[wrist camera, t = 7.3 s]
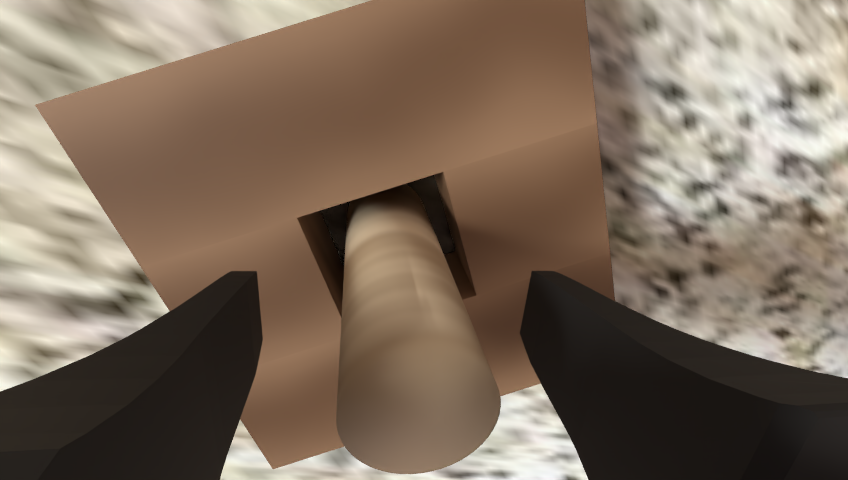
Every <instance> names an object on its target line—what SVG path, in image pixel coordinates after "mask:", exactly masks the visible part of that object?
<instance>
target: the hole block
mask: <svg viewBox="0 0 848 480" xmlns="http://www.w3.org/2000/svg"><path fill="white" fill-rule="evenodd" d="M35 106H36V107H37V109H38V110H39V112H40V113H41V115H42V116H43V118H44V119H45V121H46V122H47V124H48V125H49V127H50V129H51V130H52V132H53V133H54V135H55V136H56V138H57V139H58V141H59V142H60V144H61V145H62V147H63V148H64V150H65V151H66V153H67V155H68V156H69V158H70V159H71V161H72V162H73V164H74V165H75V167H76V168H77V170H78V171H79V173H80V174H81V176H82V178H83V179H84V181H85V182H86V184H87V185H88V187H89V188H90V190H91V191H92V193H93V194H94V196H95V197H96V199H97V200H98V202H99V204H100V205H101V207H102V208H103V210H104V211H105V213H106V214H107V216H108V217H109V219H110V220H111V222H112V223H113V225H114V227H115V228H116V230H117V231H118V233H119V234H120V236H121V237H122V239H123V240H124V242H125V243H126V245H127V246H128V248H129V249H130V251H131V253H132V254H133V256H134V257H135V259H136V260H137V262H138V263H139V265H140V266H141V268H142V269H143V271H144V272H145V274H146V276H147V277H148V279H149V280H150V282H151V283H152V285H153V286H154V288H155V289H156V291H157V292H158V294H159V295H160V297H161V298H162V300H163V302H164V303H165V305H166V306H167V308H168V309H169V311H171V310H173V309H175V308H176V307H178V306H179V305H181V304H182V303H184V302H185V301H187V300H188V299H190V298H191V297H193V296H194V295H196V294H197V293H199V292H200V291H202V290H203V289H204V288H206V287H207V286H209V285H210V284H212V283H213V282H215V281H216V280H217V279H219V278H220V277H222V276H224V275H225V274H227V273H229V272H230V271H257V278H258V289H259V301H260V312H261V323H262V335H263V341H262V346H261V352H260V357H259V361H258V366H257V371H256V375H255V378H254V381H253V384H252V386H251V389H250V392H249V395H248V398H247V401H246V403H245V406H244V409H243V412H242V415H241V417H240V419H241V421H242V422H243V424H244V426H245V427H246V429H247V430H248V432H249V433H250V435H251V436H252V438H253V439H254V441H255V442H256V444H257V445H258V447H259V449H260V450H261V452H262V453H263V455H264V456H265V458H266V459H267V461H268V462H269V464H270V465H271V467H272V468H273V469H275V468H278V467H281V466H285V465H288V464H291V463H294V462H297V461H300V460H303V459H306V458H310V457H313V456H316V455H319V454H322V453H325V452H328V451H331V450H334V449H338V448H341V447H344V445H343V443H342V441H341V439H340V437H339V434H338V430H337V426H336V411H337V393H338V374H339V356H340V337H341V319H342V300H343V282H344V267H343V265H342V262H341V260H340V258H339V255H338V253H337V250H336V248H335V245H334V243H333V241H332V238H331V236H330V233H329V231H328V229H327V226H326V224H325V221H324V219H323V217H322V214H321V212H320V210H323V209H326V208H330V207H333V206H336V205H339V204H342V203H346V202H349V201H352V200H355V199H358V198H361V197H365V196H368V195H371V194H374V193H377V192H380V191H384V190H387V189H390V188H393V187H396V186H399V185H403V184H406V183H409V182H412V181H415V180H418V179H422V178H425V177H428V176H431V175H434V176H435V179H436V183H437V186H438V190H439V194H440V197H441V201H442V204H443V208H444V211H445V215H446V219H447V222H448V226H449V229H450V233H451V237H452V240H453V244H454V247H455V251H453V252H450V253H447V254H444V256H445V259H446V261H447V264H448V266H449V269H450V271H451V274H452V276H453V278H454V281H455V283H456V286H457V288H458V291H459V293H460V295H461V298H462V300H463V303H464V305H465V308H466V310H467V313H468V315H469V317H470V320H471V322H472V325H473V327H474V330H475V332H476V335H477V337H478V339H479V342H480V344H481V347H482V349H483V352H484V354H485V357H486V359H487V361H488V364H489V366H490V369H491V371H492V374H493V376H494V378H495V381H496V383H497V386H498V389H499V392H500V396H503V395H506V394H509V393H512V392H515V391H518V390H521V389H524V388H528V387H531V386H534V385H537V384H540V383H541V382H540V381H539V379H538V377H537V375H536V373H535V371H534V369H533V367H532V365H531V363H530V360H529V358H528V355H527V353H526V350H525V347H524V344H523V341H522V338H521V335H520V329H521V324H522V318H523V313H524V308H525V303H526V298H527V293H528V287H529V282H530V277H531V272H532V271H555V272H558V273H560V274H563V275H565V276H567V277H569V278H571V279H573V280H575V281H577V282H579V283H581V284H583V285H585V286H587V287H589V288H591V289H593V290H594V291H596V292H598V293H600V294H602V295H604V296H606V297H608V298H610V299H612V300H614V301H615V297H614V287H613V277H612V267H611V257H610V247H609V237H608V227H607V218H606V208H605V198H604V188H603V178H602V168H601V158H600V148H599V138H598V129H597V119H596V109H595V99H594V89H593V79H592V69H591V59H590V49H589V40H588V30H587V20H586V10H585V0H372V1H368V2H365V3H362V4H359V5H355V6H352V7H349V8H346V9H343V10H339V11H336V12H333V13H330V14H326V15H323V16H320V17H317V18H314V19H310V20H307V21H304V22H301V23H297V24H294V25H291V26H288V27H285V28H281V29H278V30H275V31H272V32H268V33H265V34H262V35H259V36H256V37H252V38H249V39H246V40H243V41H239V42H236V43H233V44H230V45H227V46H223V47H220V48H217V49H214V50H210V51H207V52H204V53H201V54H198V55H194V56H191V57H188V58H185V59H181V60H178V61H175V62H172V63H169V64H165V65H162V66H159V67H156V68H152V69H149V70H146V71H143V72H140V73H136V74H133V75H130V76H127V77H123V78H120V79H117V80H114V81H111V82H107V83H104V84H101V85H98V86H94V87H91V88H88V89H85V90H82V91H78V92H75V93H72V94H69V95H65V96H62V97H59V98H56V99H53V100H49V101H46V102H43V103H40V104H36V105H35Z"/></svg>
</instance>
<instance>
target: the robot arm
mask: <svg viewBox="0 0 848 480" xmlns="http://www.w3.org/2000/svg"><path fill="white" fill-rule="evenodd" d="M520 335H521V338H522V341H523V344H524V347H525V350H526V353H527V355H528V358H529V360H530V363H531V365H532V367H533V369H534V371H535V373H536V375H537V377H538V379H539V381H540V382H541V384H542V386H543V388H544V390H545V392H546V394H547V395H548V397H549V399H550V401H551V403H552V405H553V406H554V408H555V410H556V412H557V414H558V416H559V417H560V419H561V421H562V423H563V425H564V427H565V428H566V430H567V432H568V434H569V436H570V438H571V440H572V442H573V444H574V446H575V448H576V450H577V453H578V455H579V458H580V460H581V462H582V465H583V467H584V470H585V472H586V475H587V477H588V479H589V480H848V378H843V377H838V376H833V375H828V374H823V373H818V372H813V371H809V370H805V369H801V368H797V367H793V366H789V365H785V364H781V363H777V362H773V361H769V360H766V359H762V358H759V357H755V356H751V355H748V354H745V353H742V352H739V351H735V350H732V349H729V348H726V347H723V346H720V345H717V344H714V343H711V342H708V341H705V340H702V339H699V338H697V337H694V336H692V335H689V334H687V333H684V332H681V331H679V330H676V329H674V328H671V327H669V326H666V325H664V324H662V323H659V322H657V321H655V320H653V319H651V318H649V317H646V316H644V315H642V314H640V313H638V312H636V311H634V310H632V309H630V308H627V307H625V306H623V305H621V304H619V303H618V302H616V301H614V300H612V299H610V298H608V297H606V296H604V295H602V294H600V293H598V292H596V291H594V290H593V289H591V288H589V287H587V286H585V285H583V284H581V283H579V282H577V281H575V280H573V279H571V278H569V277H567V276H565V275H563V274H560V273H558V272H555V271H532V272H531V277H530V282H529V287H528V293H527V298H526V303H525V308H524V313H523V318H522V324H521V329H520ZM262 341H263V335H262V323H261V312H260V301H259V289H258V278H257V271H230V272H229V273H227V274H225V275H224V276H222V277H220V278H219V279H217V280H216V281H215V282H213V283H212V284H210V285H209V286H207V287H206V288H204V289H203V290H202V291H200V292H199V293H197V294H196V295H194V296H193V297H191V298H190V299H188V300H187V301H185V302H184V303H182V304H181V305H179V306H178V307H176V308H175V309H173V310H171V311H170V312H168V313H167V314H165V315H163V316H162V317H160V318H158V319H157V320H155V321H153V322H152V323H150V324H149V325H147V326H145V327H144V328H142V329H140V330H139V331H137V332H135V333H133V334H131V335H129V336H128V337H126V338H124V339H122V340H120V341H118V342H116V343H114V344H112V345H110V346H108V347H106V348H104V349H102V350H100V351H98V352H96V353H94V354H92V355H90V356H88V357H85V358H83V359H81V360H78V361H76V362H74V363H71V364H69V365H66V366H64V367H62V368H59V369H57V370H55V371H52V372H50V373H48V374H45V375H43V376H40V377H38V378H36V379H33V380H31V381H28V382H25V383H23V384H20V385H17V386H14V387H12V388H9V389H6V390H4V391H1V392H0V480H220V476H221V473H222V470H223V466H224V463H225V460H226V457H227V454H228V451H229V448H230V445H231V442H232V440H233V437H234V434H235V431H236V429H237V426H238V423H239V420H240V417H241V415H242V412H243V409H244V406H245V403H246V401H247V398H248V395H249V392H250V389H251V386H252V384H253V381H254V378H255V375H256V371H257V366H258V361H259V357H260V352H261V346H262Z"/></svg>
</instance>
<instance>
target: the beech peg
mask: <svg viewBox="0 0 848 480" xmlns="http://www.w3.org/2000/svg"><path fill="white" fill-rule="evenodd" d="M500 407H501V398H500V392H499V389H498V386H497V383H496V381H495V378H494V376H493V374H492V371H491V369H490V366H489V364H488V361H487V359H486V357H485V354H484V352H483V349H482V347H481V344H480V342H479V339H478V337H477V335H476V332H475V330H474V327H473V325H472V322H471V320H470V317H469V315H468V313H467V310H466V308H465V305H464V303H463V300H462V298H461V295H460V293H459V291H458V288H457V286H456V283H455V281H454V278H453V276H452V274H451V271H450V269H449V266H448V264H447V261H446V259H445V256H444V254H443V252H442V249H441V247H440V244H439V242H438V239H437V237H436V234H435V232H434V230H433V227H432V225H431V222H430V220H429V217H428V215H427V212H426V210H425V208H424V205H423V203H422V200H421V199H420V197H419V195H418V194H417V193H416V192H415V191H414V190H413V189H412V188H411V187H410V186H408V185H406V184H403V185H399V186H396V187H393V188H390V189H387V190H384V191H380V192H377V193H374V194H371V195H368V196H365V197H361V198H358V199H355V200H352V201H351V202H350V204H349V207H348V212H347V227H346V245H345V264H344V282H343V300H342V319H341V337H340V356H339V374H338V393H337V411H336V426H337V430H338V434H339V437H340V439H341V441H342V443H343V445H344V446H345V448H346V449H347V450H348V451H349V452H350V453H351V454H352V455H353V456H354V457H355V458H356V459H358V460H359V461H361V462H362V463H364V464H366V465H368V466H370V467H372V468H375V469H378V470H381V471H385V472H390V473H398V474H417V473H425V472H430V471H434V470H438V469H442V468H444V467H447V466H450V465H452V464H454V463H456V462H458V461H460V460H462V459H463V458H465V457H467V456H468V455H470V454H471V453H472V452H474V451H475V450H476V449H477V448H478V447H479V446H480V445H482V444H483V442H484V441H485V440H486V439H487V438H488V437H489V435H490V434H491V432H492V431H493V429H494V427H495V425H496V423H497V420H498V417H499V413H500Z"/></svg>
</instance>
